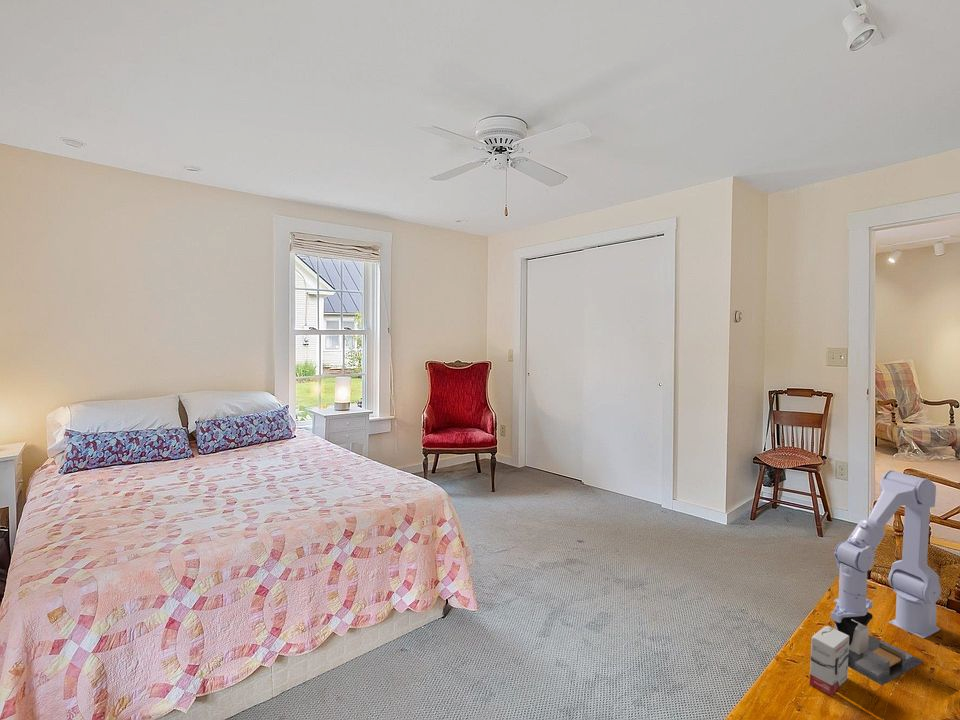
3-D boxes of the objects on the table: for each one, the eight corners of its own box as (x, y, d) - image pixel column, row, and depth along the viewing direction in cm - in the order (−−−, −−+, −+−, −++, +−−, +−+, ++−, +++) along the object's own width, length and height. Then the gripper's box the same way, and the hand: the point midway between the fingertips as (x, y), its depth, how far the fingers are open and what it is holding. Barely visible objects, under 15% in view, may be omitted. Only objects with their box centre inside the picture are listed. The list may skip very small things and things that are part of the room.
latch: (879, 649, 127) (879, 647, 127) (900, 660, 123) (900, 658, 123) (867, 655, 125) (868, 653, 125) (889, 667, 121) (889, 664, 121)
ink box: (832, 697, 114) (833, 647, 114) (808, 684, 119) (809, 636, 118) (848, 682, 119) (850, 634, 118) (825, 670, 123) (826, 623, 122)
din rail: (856, 631, 138) (856, 618, 138) (923, 664, 124) (923, 649, 124) (815, 651, 130) (815, 637, 130) (881, 688, 117) (882, 672, 116)
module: (843, 637, 134) (843, 615, 134) (868, 650, 129) (869, 627, 129) (833, 641, 133) (834, 619, 132) (859, 654, 127) (859, 632, 127)
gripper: (852, 576, 136) (850, 624, 137) (819, 589, 130) (817, 639, 131) (882, 588, 130) (880, 638, 131) (848, 603, 124) (847, 655, 125)
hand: (851, 640), depth 131 cm, fingers closed on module, 4 cm apart
